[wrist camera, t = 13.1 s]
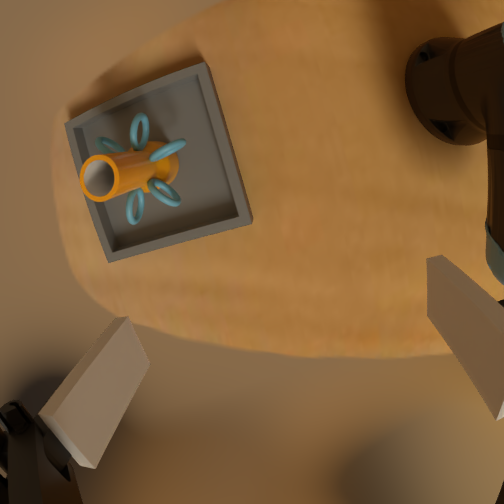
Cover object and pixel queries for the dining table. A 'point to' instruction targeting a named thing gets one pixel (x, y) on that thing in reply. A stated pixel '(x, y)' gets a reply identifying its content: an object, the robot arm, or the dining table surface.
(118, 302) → the dining table surface
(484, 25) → the dining table surface
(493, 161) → the robot arm
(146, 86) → the tray
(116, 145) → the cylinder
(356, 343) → the dining table surface
